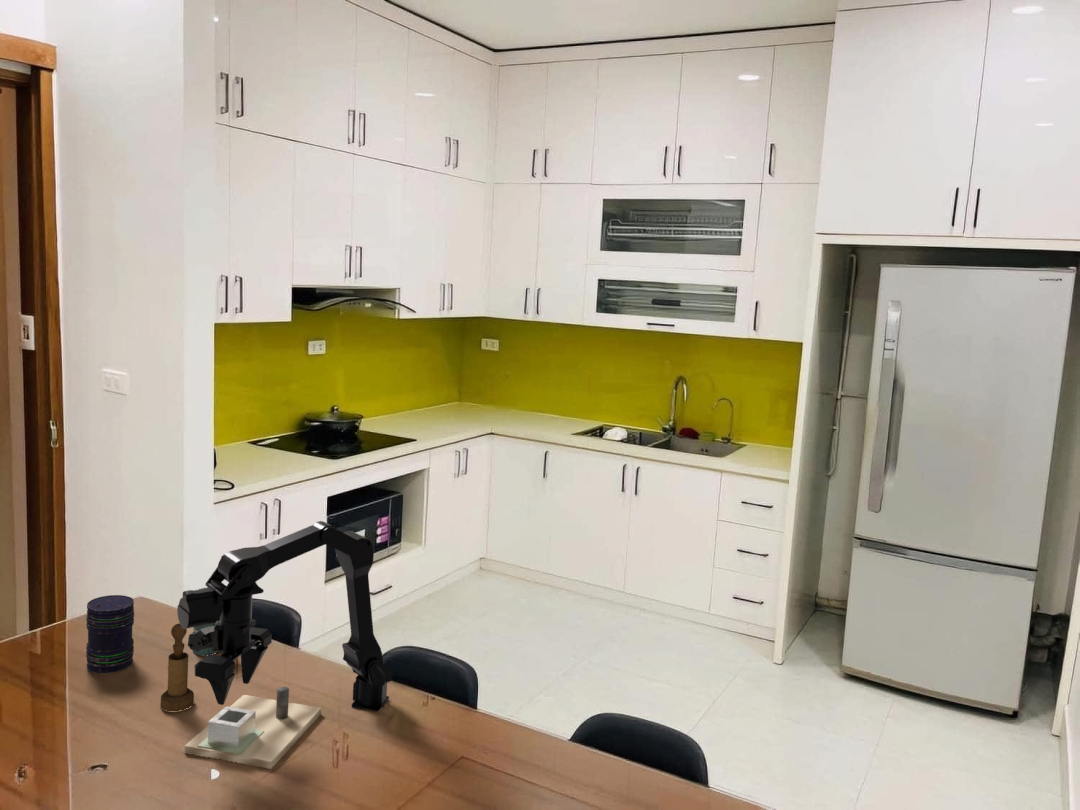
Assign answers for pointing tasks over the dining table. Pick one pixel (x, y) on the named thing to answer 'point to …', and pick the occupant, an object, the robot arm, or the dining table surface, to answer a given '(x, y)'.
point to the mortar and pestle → (177, 676)
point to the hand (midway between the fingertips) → (233, 693)
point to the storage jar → (110, 633)
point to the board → (262, 731)
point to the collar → (231, 727)
